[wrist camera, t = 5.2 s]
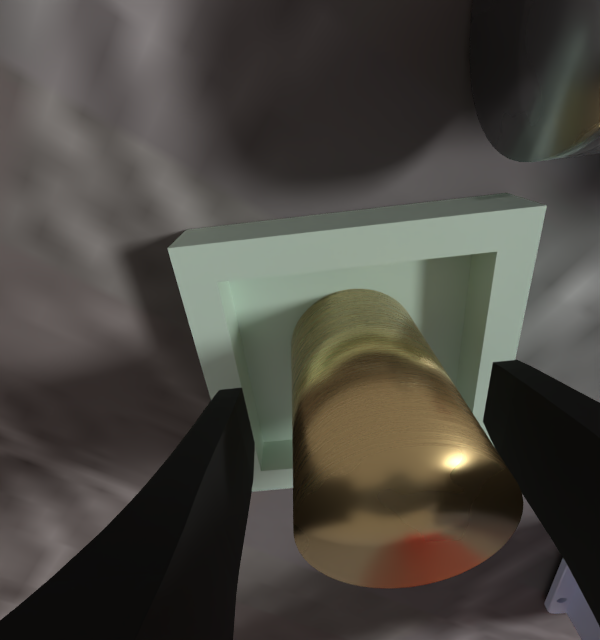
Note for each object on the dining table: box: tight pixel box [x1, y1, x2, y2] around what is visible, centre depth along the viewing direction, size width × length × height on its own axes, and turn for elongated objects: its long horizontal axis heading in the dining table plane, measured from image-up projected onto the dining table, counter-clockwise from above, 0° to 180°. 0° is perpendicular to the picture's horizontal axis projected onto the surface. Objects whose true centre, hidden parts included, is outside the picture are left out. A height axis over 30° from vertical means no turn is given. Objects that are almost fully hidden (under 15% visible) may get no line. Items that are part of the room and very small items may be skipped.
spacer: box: [291, 289, 523, 588], centre depth 9 cm, size 4×4×6 cm
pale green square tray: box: [167, 193, 547, 492], centre depth 12 cm, size 9×9×2 cm
